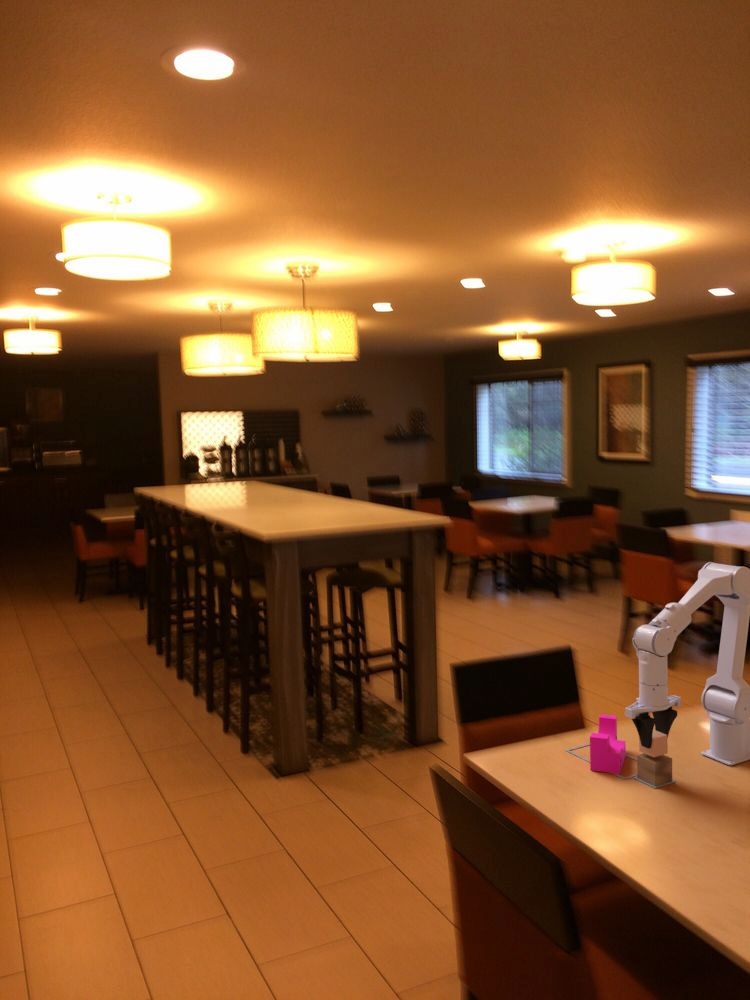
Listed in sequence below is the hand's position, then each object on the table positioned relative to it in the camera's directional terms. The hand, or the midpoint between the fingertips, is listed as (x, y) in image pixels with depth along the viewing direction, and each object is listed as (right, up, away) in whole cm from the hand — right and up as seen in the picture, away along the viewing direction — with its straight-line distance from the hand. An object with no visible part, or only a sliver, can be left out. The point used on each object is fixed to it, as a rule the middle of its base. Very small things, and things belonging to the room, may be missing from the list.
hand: (653, 744), depth 167 cm
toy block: (-6, -7, +12) cm, 15 cm away
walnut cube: (0, -8, 0) cm, 8 cm away
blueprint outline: (-4, -7, +9) cm, 12 cm away
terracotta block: (0, -2, 0) cm, 2 cm away
